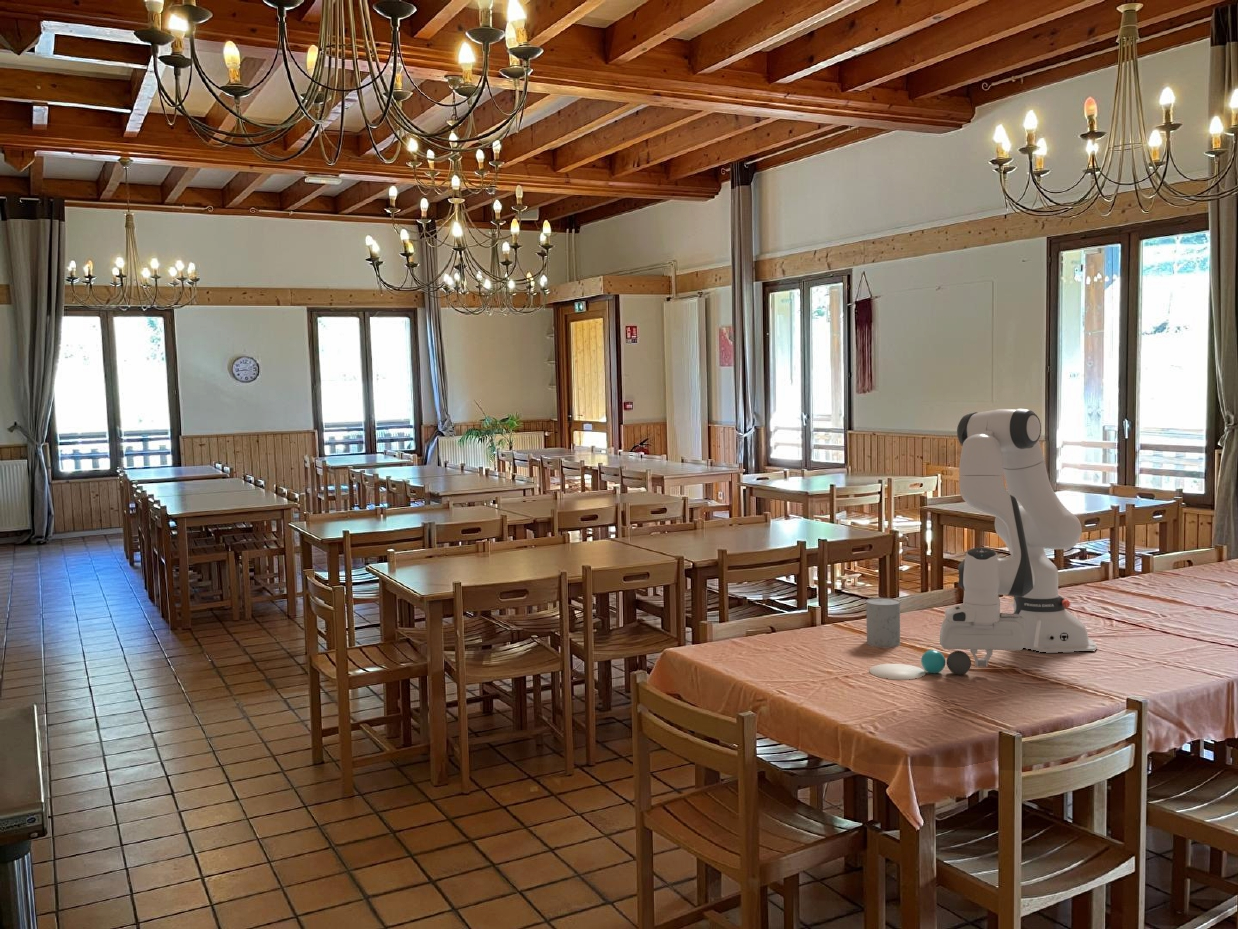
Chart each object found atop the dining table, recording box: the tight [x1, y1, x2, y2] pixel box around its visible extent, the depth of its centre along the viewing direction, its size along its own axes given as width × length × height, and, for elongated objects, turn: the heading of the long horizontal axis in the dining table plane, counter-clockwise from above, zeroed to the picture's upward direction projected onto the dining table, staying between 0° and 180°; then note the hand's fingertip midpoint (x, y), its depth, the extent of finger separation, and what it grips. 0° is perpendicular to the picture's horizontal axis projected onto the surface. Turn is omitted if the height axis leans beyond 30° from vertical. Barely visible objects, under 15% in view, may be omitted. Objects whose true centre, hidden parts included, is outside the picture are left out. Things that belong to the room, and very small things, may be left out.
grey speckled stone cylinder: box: [865, 597, 901, 649], centre depth 289 cm, size 10×10×12 cm
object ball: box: [920, 649, 946, 674], centre depth 258 cm, size 6×6×6 cm
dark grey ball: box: [946, 650, 972, 675], centre depth 257 cm, size 6×6×6 cm
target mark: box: [869, 663, 926, 681], centre depth 260 cm, size 14×14×1 cm
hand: (981, 666), depth 256 cm, fingers closed
